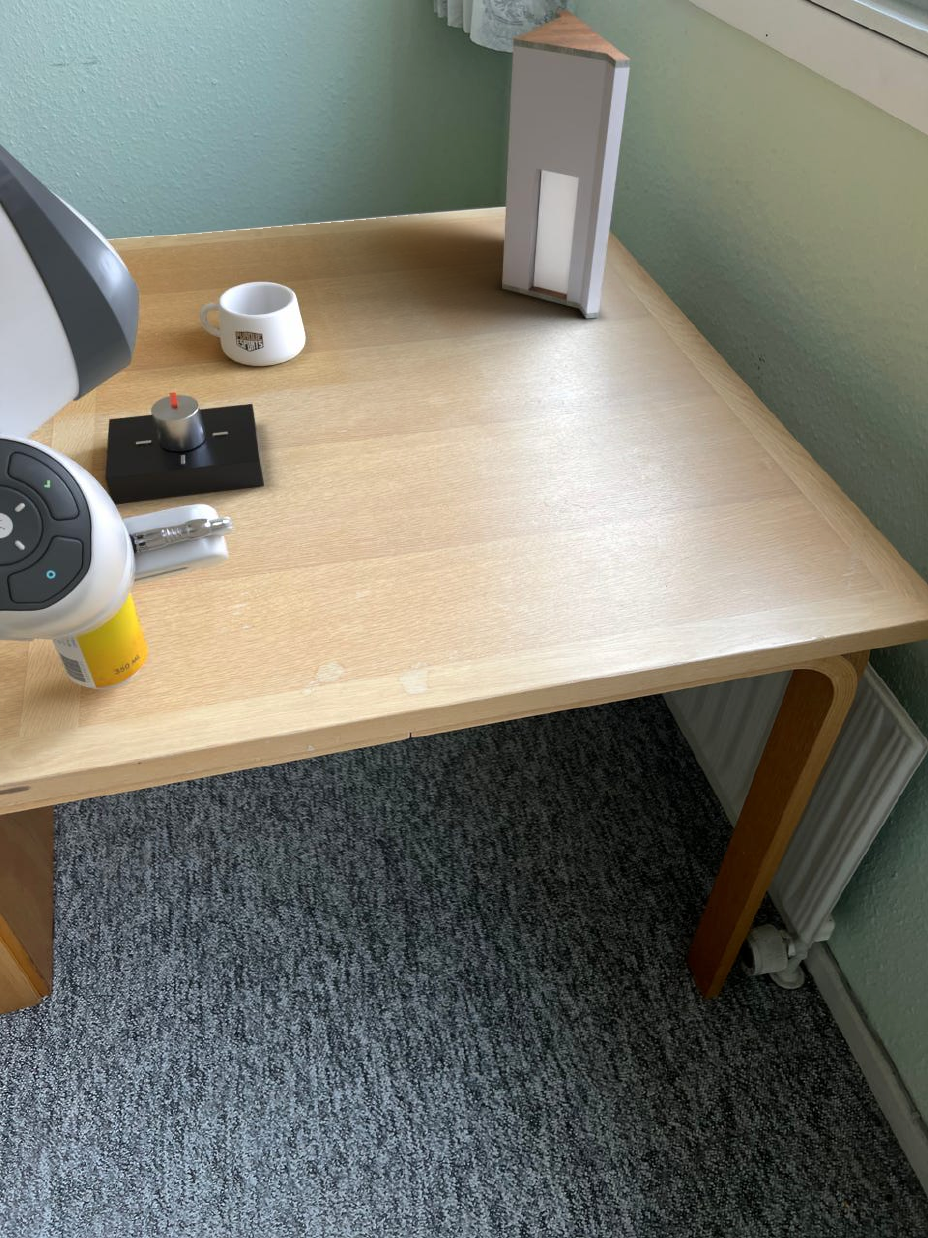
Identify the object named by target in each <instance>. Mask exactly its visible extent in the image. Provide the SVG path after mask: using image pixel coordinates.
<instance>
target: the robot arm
mask: <svg viewBox="0 0 928 1238" xmlns="http://www.w3.org/2000/svg"><path fill="white" fill-rule="evenodd" d="M139 322H140V290H139V287H138V285H137V283H136V281H135V279H134V278H133V277H132V275H131V274H130V271H129V269H128V267H127V265H126V264H125V262H124V261H123V259H122V258H121V256H120V255H119V253H118V252H117V250H116V249H115V248H114V246H113V245H112V244H111V243H110V241H108V239H107V238H106V237H105V236H104V235H103V234H102V233H101V231H99V229H98V228H96V226H94V225H93V224H92V223H91V222H90V220H88V219H87V218H86V217H85V216H84V215H82V214H81V213H80V212H79V211H78V210H76V209H75V208H74V206H72V205H70V204H69V203H68V202H66V201H65V200H64V199H63V198H62V197H60V196H59V195H57V194H56V193H55V192H53V190H51V189H49V187H47V186H46V185H45V184H44V183H42V182H41V181H40V179H38V178H37V177H36V176H35V175H34V174H33V173H31V171H29V170H28V169H27V168H26V167H25V166H24V165H23V164H22V163H21V162H20V161H19V160H18V159H16V158H15V156H13V155H12V154H11V153H10V151H8V150H7V149H6V148H5V147H4V146H3V145H2V144H1V143H0V641H11V642H23V643H30V642H33V641H35V639H36V640H47V641H48V640H49V641H51V640H60V639H69V638H74V637H78V636H81V635H84V634H87V633H89V632H91V631H93V630H95V629H97V628H99V627H101V626H102V625H104V624H105V623H106V622H108V621H109V620H110V619H111V618H112V617H113V616H114V615H115V614H116V613H117V612H118V611H119V610H120V609H121V607H122V606H123V604H124V603H125V601H126V600H127V598H128V596H129V594H130V593H131V591H132V588H134V587H137V586H140V585H145V584H148V583H152V582H153V583H154V582H158V581H161V580H166V579H169V578H173V577H177V576H181V575H182V576H183V575H185V574H190V573H193V572H197V571H203V570H206V569H209V568H213V567H218V566H220V565H222V564H224V563H226V562H228V561H229V558H230V554H229V551H228V546H227V542H226V539H225V536H227V535H229V534H231V533H233V531H234V527H233V526H234V522H233V520H232V519H231V517H230V516H222V517H219V515H218V511H217V510H216V509H215V508H214V507H213V506H212V505H209V504H207V503H195V504H188V505H180V506H175V507H169V508H166V509H160V510H157V511H152V512H148V513H144V514H139V515H135V516H130V517H126V518H122V516H121V513H120V512H119V510H118V508H117V506H116V504H114V502H113V501H112V499H111V495H109V494H108V492H107V490H106V489H105V488H104V486H103V485H102V484H101V483H100V482H99V481H98V480H97V479H96V478H95V476H93V475H92V474H91V473H90V472H89V471H88V470H87V469H85V468H84V467H82V466H81V465H80V464H79V463H78V462H76V461H75V460H73V459H72V458H70V457H69V456H67V455H65V454H63V453H62V452H60V451H59V450H57V449H55V448H53V447H52V446H48V445H47V444H45V443H42V442H39V441H37V440H33V439H31V438H29V437H30V436H32V435H33V434H34V433H35V432H37V431H38V430H39V429H40V428H41V427H42V426H44V425H45V424H46V423H47V422H49V421H50V420H51V419H52V418H53V417H55V416H56V415H57V414H58V413H59V412H61V411H62V410H63V409H64V408H65V407H67V406H68V405H69V404H70V403H71V402H73V401H74V402H76V401H79V400H80V399H82V398H83V397H85V396H86V395H88V394H89V393H90V392H92V391H93V390H95V389H96V388H98V387H99V386H101V385H102V384H104V383H105V382H106V381H108V380H110V379H111V378H113V377H114V376H116V375H118V374H119V373H120V372H122V371H123V370H124V369H125V368H127V367H128V366H130V365H131V364H132V360H133V356H134V353H135V348H136V343H137V337H138V331H139Z"/></svg>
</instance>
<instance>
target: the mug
mask: <svg viewBox="0 0 928 1238" xmlns="http://www.w3.org/2000/svg"><path fill="white" fill-rule="evenodd" d="M211 311H217V312H218V321H219V329H217V328H216V327H214V326H213V325H211V324H210V322H209V321H208V313H209V312H211ZM199 320H200V323H201V325H202V327H203V329H204V330H205V331H206V332H207V333H208V334H210V335H212V336H214V337H216V338H220V345H221V350H222V351H223V353H224V354H225V355H226V356H227V357H228V358H229V359H230V360H232V361H234V362H235V363H238V364H242V365H245V366H252V367H266V366H275V365H278V364H282V363H285V362H287V361H290V360H292V359H293V358H295V357H296V356H298V355H299V354H300V353H301V351H302V350H303V349H304V347H305V345H306V332H305V327H304V323H303V320H302V316H301V311H300V307H299V303H298V299H297V295H296V293H295V292H294V291H293V290H292V288H290V287H288V286H286V285H283V284H280V283H277V282H270V281H251V282H246V283H241V284H238V285H235V286H233V287H230V288H228V289H227V290H225V291H224V292H223V293H222V294H221V295H220V296H219V298H218V302H210V303H209V302H208V303H206V304H204V305H202V307H201V308H200V311H199Z"/></svg>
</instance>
